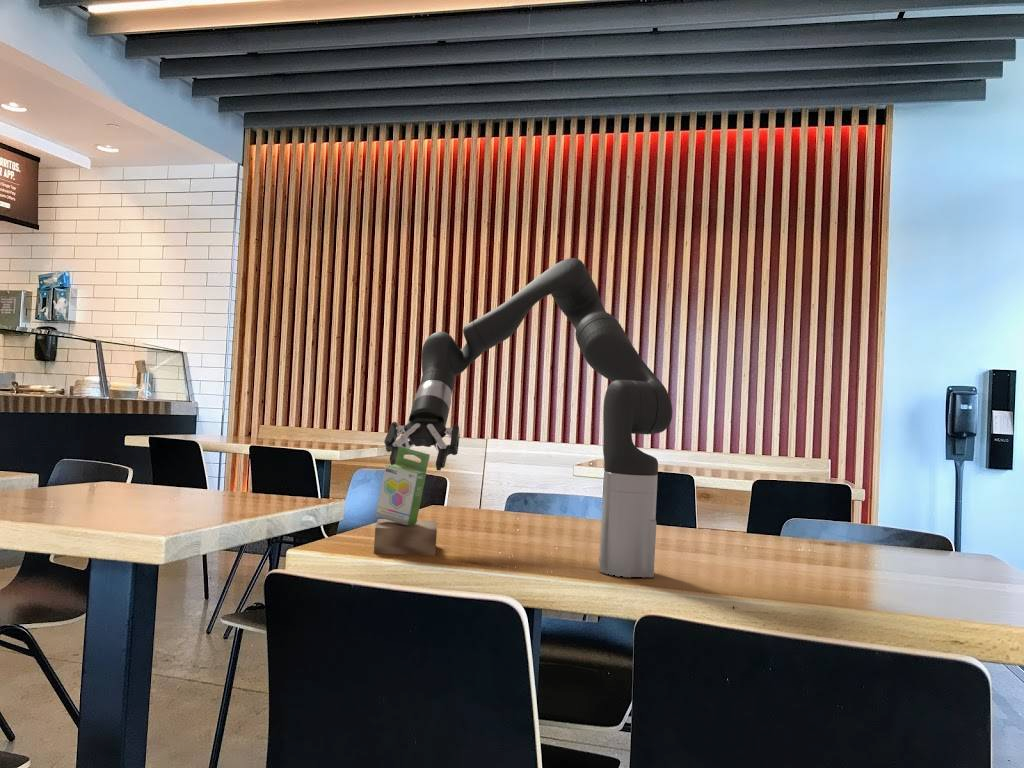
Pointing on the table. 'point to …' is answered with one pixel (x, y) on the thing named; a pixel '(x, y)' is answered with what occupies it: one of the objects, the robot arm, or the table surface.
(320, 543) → the table surface
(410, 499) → the ink box
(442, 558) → the table surface
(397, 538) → the walnut block
